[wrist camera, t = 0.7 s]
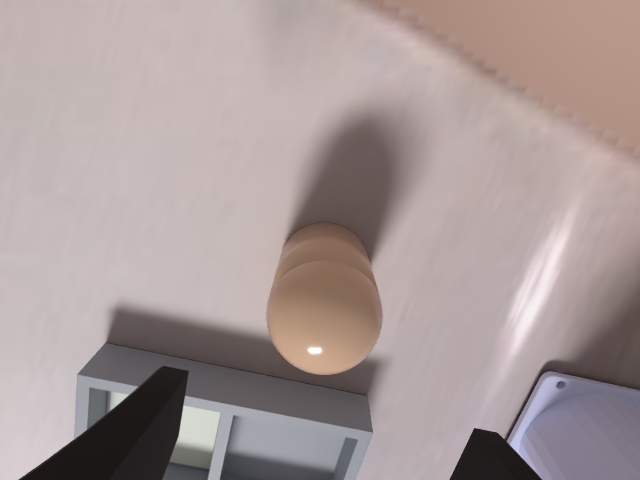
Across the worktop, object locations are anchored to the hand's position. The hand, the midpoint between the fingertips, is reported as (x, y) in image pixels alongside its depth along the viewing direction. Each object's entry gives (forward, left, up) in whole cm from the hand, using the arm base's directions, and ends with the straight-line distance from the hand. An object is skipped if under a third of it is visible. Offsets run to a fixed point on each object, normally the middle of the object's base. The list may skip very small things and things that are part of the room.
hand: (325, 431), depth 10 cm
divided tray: (+3, +11, -10) cm, 15 cm away
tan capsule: (0, 0, -10) cm, 10 cm away
